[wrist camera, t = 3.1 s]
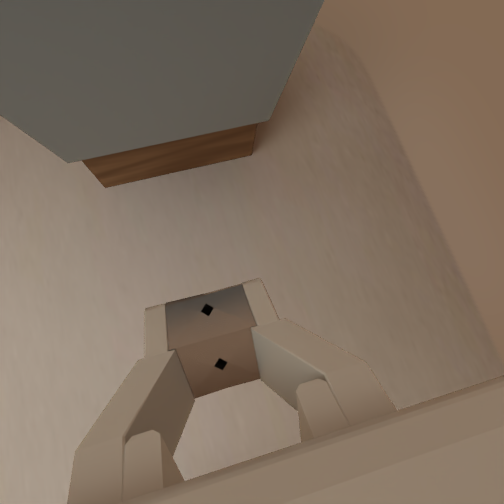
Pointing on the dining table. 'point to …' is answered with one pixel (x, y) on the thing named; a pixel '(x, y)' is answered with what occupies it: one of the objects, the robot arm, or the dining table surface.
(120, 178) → the box
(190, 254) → the dining table surface
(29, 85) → the lid
